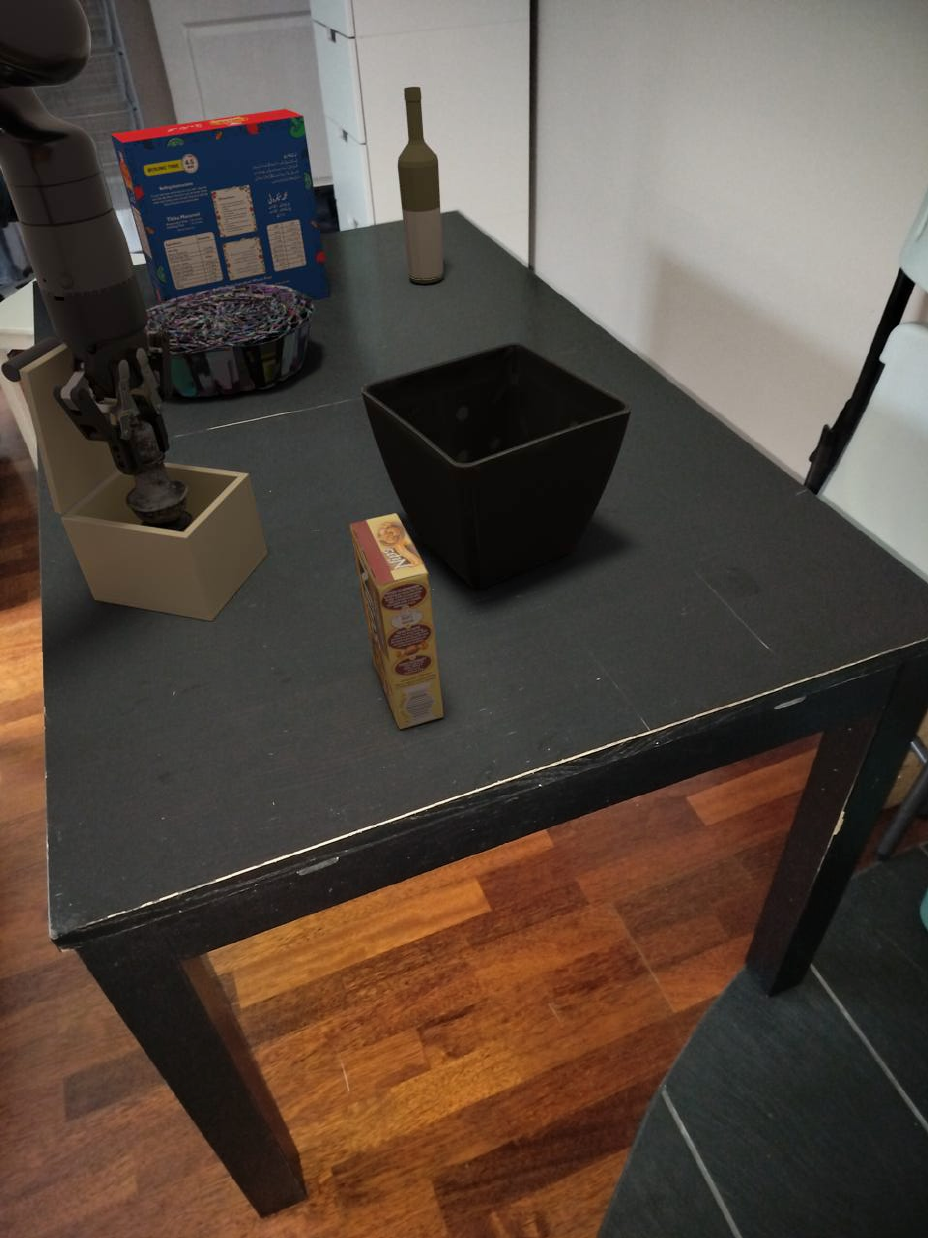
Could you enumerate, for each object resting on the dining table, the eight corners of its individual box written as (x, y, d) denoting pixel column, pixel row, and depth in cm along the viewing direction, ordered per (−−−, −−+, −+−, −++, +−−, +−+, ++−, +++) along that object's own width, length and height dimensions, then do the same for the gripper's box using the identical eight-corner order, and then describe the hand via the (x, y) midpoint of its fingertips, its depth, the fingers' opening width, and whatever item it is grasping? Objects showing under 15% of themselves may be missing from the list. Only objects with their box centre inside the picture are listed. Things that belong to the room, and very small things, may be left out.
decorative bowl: (346, 393, 125) (342, 325, 119) (151, 425, 115) (136, 352, 109) (293, 335, 143) (287, 273, 137) (121, 359, 133) (106, 293, 127)
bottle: (450, 274, 158) (439, 83, 138) (440, 287, 152) (427, 91, 133) (413, 272, 159) (397, 84, 140) (402, 285, 154) (384, 92, 135)
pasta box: (312, 283, 157) (285, 108, 139) (329, 295, 152) (303, 115, 134) (160, 317, 147) (110, 133, 129) (173, 331, 142) (122, 142, 124)
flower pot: (624, 554, 88) (637, 402, 77) (469, 623, 81) (460, 466, 70) (518, 478, 101) (517, 338, 90) (376, 531, 94) (356, 386, 83)
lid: (111, 319, 78) (60, 306, 79) (26, 372, 70) (-30, 356, 71) (134, 454, 88) (88, 441, 89) (62, 515, 80) (11, 499, 81)
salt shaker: (123, 535, 84) (82, 423, 76) (161, 505, 88) (126, 395, 80) (172, 546, 82) (136, 432, 74) (208, 514, 86) (177, 403, 78)
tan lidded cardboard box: (268, 553, 91) (249, 473, 85) (211, 621, 83) (186, 537, 77) (158, 536, 95) (132, 457, 89) (93, 599, 86) (60, 518, 80)
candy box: (446, 718, 72) (433, 571, 62) (397, 732, 71) (376, 585, 61) (415, 653, 78) (398, 510, 68) (370, 665, 77) (347, 521, 67)
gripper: (100, 244, 75) (154, 423, 86) (-14, 300, 65) (64, 496, 76) (174, 248, 73) (219, 431, 84) (68, 307, 63) (136, 506, 74)
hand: (145, 460), depth 80 cm, fingers closed on salt shaker, 3 cm apart
